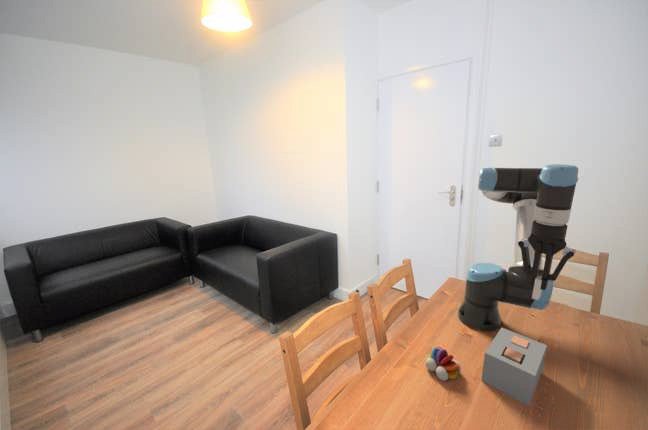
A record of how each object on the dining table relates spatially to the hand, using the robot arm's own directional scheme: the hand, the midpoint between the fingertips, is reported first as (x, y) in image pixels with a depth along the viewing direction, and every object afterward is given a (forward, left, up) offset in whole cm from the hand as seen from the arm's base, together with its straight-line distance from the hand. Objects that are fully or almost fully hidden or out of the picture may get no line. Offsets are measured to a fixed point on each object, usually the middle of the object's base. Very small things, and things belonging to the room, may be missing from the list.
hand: (536, 297), depth 82 cm
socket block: (-2, -8, -24) cm, 26 cm away
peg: (-2, -11, -24) cm, 27 cm away
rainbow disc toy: (-17, -20, -25) cm, 36 cm away
